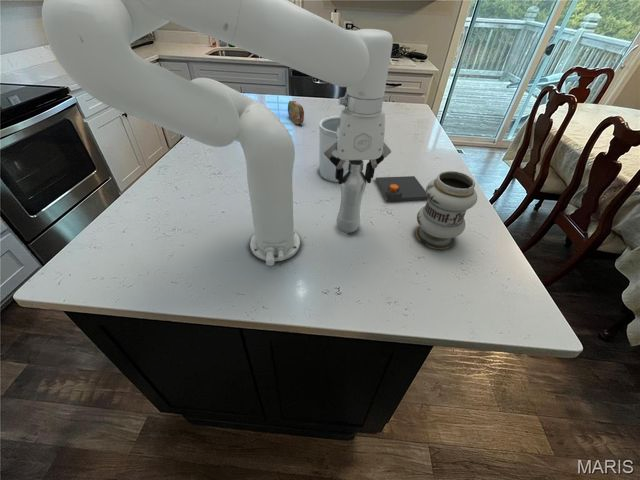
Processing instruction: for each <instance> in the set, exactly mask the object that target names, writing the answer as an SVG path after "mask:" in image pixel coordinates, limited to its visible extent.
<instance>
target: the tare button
mask: <svg viewBox="0 0 640 480" xmlns="http://www.w3.org/2000/svg"><path fill="white" fill-rule="evenodd" d="M389 191H391V192H397V191H398V185H396V184H391V185H390V189H389Z"/></svg>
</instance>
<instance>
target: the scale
mask: <svg viewBox="0 0 640 480" xmlns="http://www.w3.org/2000/svg"><path fill="white" fill-rule="evenodd" d="M374 181H375V183H376V184H377V187H378V189H379V192H380V193H381V194H382V196H383V198H384V200H385V202H386V203H393V202H394V203H395V202H417V201H418V202H419V201H427V200H428V197H427V195H426V189H425V188H424V187H423V185H422V184H421V183H420V182H419V180H418V179H417V178H416V176H415V175H410V176H409V175H408V176H381V177H380V176H379V177H375V180H374ZM391 184H396V185H398V191H397V192H391V191H389V189H390V185H391Z"/></svg>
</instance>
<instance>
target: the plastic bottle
mask: <svg viewBox="0 0 640 480" xmlns="http://www.w3.org/2000/svg"><path fill="white" fill-rule="evenodd" d="M347 169H348V170H347V171H346V172H345V173H344V175H343V183H342V184H340V204H339V210H338V213H337V216H336V226H337V228H338V229H339V230H340V231H341V232H343V233H348V234H351V233H353V232H356V231H357V230H358V229H359V226H360V224H361V206H362V205H361V204H362V200H363V195H364V192H365V191H366V187H367V181H366V178H365V173H364V172H363V171H364V160H349V161H348V166H347Z"/></svg>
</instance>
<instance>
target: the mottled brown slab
mask: <svg viewBox="0 0 640 480" xmlns="http://www.w3.org/2000/svg"><path fill="white" fill-rule="evenodd" d="M287 114H288V117H289V119H290V121H292V122H293V123H294V124H295V125H296V126H297V125H302V124H303V123H304V122H305V121H304V120H305V110H304V107H303V106H302V105H301V104H300V103H299V102H297V100H289V101H288V104H287Z"/></svg>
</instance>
